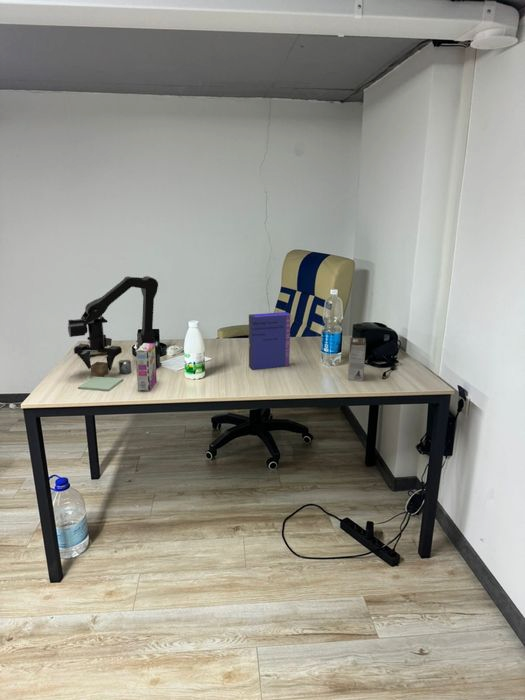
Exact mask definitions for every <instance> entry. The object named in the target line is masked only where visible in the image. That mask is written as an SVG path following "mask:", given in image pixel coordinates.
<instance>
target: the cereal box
mask: <svg viewBox="0 0 525 700" xmlns="http://www.w3.org/2000/svg"><path fill="white" fill-rule="evenodd" d="M290 345H291V314H290V312H287V311H284V312H270V313H269V312H267V313H253V314H251V313H250V314H248V368H249V369H250V370H251V371H257V370H268V369H278V368H288V367H290V354H291V353H290V349H291V348H290Z"/></svg>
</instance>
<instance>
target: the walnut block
mask: <svg viewBox="0 0 525 700" xmlns="http://www.w3.org/2000/svg"><path fill="white" fill-rule="evenodd" d="M109 372H110V371H109V369H108V365H107V361H106V362H105V361H103V362H102V361H96V362H94V363H93V364H91V369H90V374H91V378H92V377H94V376H96V377H106V376H107V375H109V374H110V373H109Z"/></svg>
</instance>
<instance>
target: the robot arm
mask: <svg viewBox="0 0 525 700" xmlns="http://www.w3.org/2000/svg"><path fill="white" fill-rule="evenodd" d="M130 288H136V289H140V291H141V294H142V321H141V331H140V333H138V332H137V333H136V336H137V339H136V342H135V343H137V344H138V348H139V347H140V346H141V345H142V344H143V343H155V344H156V340H155V335H154V333H153V332H154V331H153V328H154V327H153V325H154V322H153V321H154V305H155V302H154V301H155V297H156V295H157V293H158V288H159V282H158V280H157V279H155V278H154V277H151V276H149V275H147V276H143V277H134V276H129V275H128V276H125V277H124V278H123V279H122V280H121V281H120V282H119V283H117V284H116V285H115V286H113V287H112V288H111V289H109V291H107V292H106V293H105V294H104V295H102V296H101V297H99V298H96V299H94V300H92V301H90V302H88V303H87V304H86V305H85V309H84V312H83V314H82V316H81V318H79V319H68V320H67V321H68V323H67V325H68V326H67V332H68V336H69V337H70V338H73V337H79V336H86V334H87V333H88V337H87V339H86V340H87V341H89V340H90V346H89V345H88V344H86V343H83V344H80V343H79V344H80V345H79V344H78V345H76V346H74V348H73V353H74V354H75V355H77V357H80V359H81V360H82V361H83V363H84V364H85V366H86V367H87V369H89V370H91V365H92V364H91V355H90V352H103V353H102V354H104V353H105V354H106V355H107V356H105V359H106V363H107V365H108V372H110V371H111V370H112V367H113V364H114V361H115V358H116V357H118V356H119V355H120V354H122V353H123V351H122V347H121V346H120V345H119V346H118V345H112V341H113V340H112V339H113V338H110V337H107V335H106V334H104V324H105V323H108V320H107V319H106V318H105V317H104V316H103V315H104V313H106V311H107V310H108V308H109V306H110V305H112V304H113V303H114V302H115V301H116V300H117V299H119V298H120V297H121V296H122V295H123V294H125V293H126V292H128V291H129V290H130ZM108 346H109V347H108ZM161 352H162V350H161V348H159V347H158V346H156V345H155V357H156V369H158V368H159V367H161V366H162V365H161V364H163V363H162V362H161V356H160V355H161Z"/></svg>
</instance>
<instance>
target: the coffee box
mask: <svg viewBox="0 0 525 700" xmlns="http://www.w3.org/2000/svg"><path fill="white" fill-rule="evenodd" d="M366 342H367V340H366V337H350V341H349V351H348V352H349V355H348V369H347V370H348V371H347V372H348V373H347V374H348V375H347V380H348V381H353V382H354V381H356V382H357V381H358V382H364V375H365V373H364V372H365V364H366V363H365V359H366V348H367V343H366Z"/></svg>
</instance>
